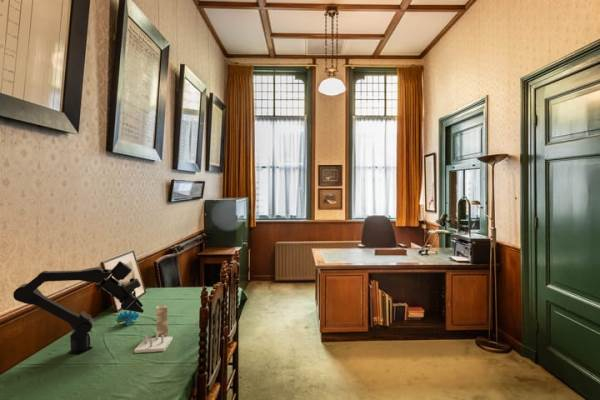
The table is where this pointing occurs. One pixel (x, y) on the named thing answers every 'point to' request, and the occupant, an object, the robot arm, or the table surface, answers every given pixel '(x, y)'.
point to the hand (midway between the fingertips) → (142, 309)
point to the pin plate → (153, 344)
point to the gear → (126, 317)
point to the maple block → (162, 320)
